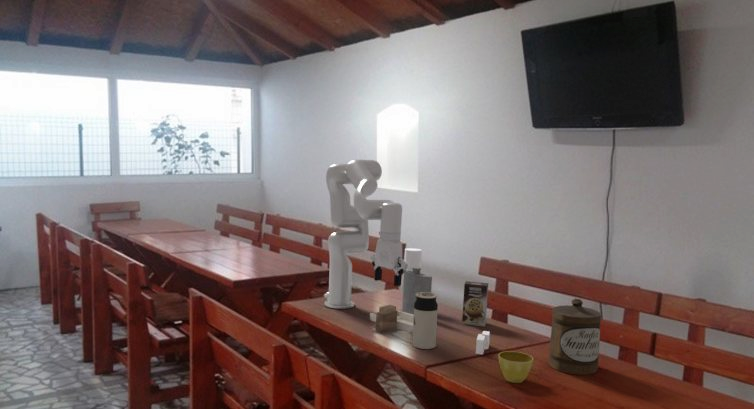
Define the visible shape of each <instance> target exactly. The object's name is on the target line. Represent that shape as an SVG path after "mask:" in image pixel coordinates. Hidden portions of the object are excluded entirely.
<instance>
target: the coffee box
mask: <svg viewBox="0 0 754 409" xmlns="http://www.w3.org/2000/svg"><path fill="white" fill-rule="evenodd" d="M463 287H464V288H463V301H462V302H463V304H462V315H461V316H462V318H461V324H463V325H468V326H477V327H486V323H487V310H488V309H487V306H488V305H487V304H488V293H489V291H488V290H489V283H488V282H479V281H470V280H469V281H467V280H466V281H465V282H464V285H463Z"/></svg>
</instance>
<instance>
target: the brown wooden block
mask: <svg viewBox="0 0 754 409" xmlns="http://www.w3.org/2000/svg"><path fill="white" fill-rule="evenodd" d="M396 310H397V309H396ZM396 310H392V309H390V310H385V311H381V312H379V311H378V312H376V313H375V314H376V322H375V330H376V332H379V333H385V332H388V331H392V330H396V328H397V311H396Z"/></svg>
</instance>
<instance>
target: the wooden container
mask: <svg viewBox="0 0 754 409" xmlns="http://www.w3.org/2000/svg"><path fill="white" fill-rule="evenodd" d="M583 302H584V301H583V300H581V298H573V299H572V300H571V305H567V304H566V305H557V306H555V307H553V308H552V314H551V316H552V321H551V329H550V330H551V332H550V342H549V353H548V354H549V355H548V356H549V358H548V364H549V366H550V368H553V369H554V370H556V371H558V372H562V373H565V374H570V375H578V376H580V375H582V376H583V375H585V376H586V375H592V374H595V373H597V371H598V366H599V355H600V354H599V353H600V339H601V338H600V337H601V320H602V314H601V312H600V311H598V310H596V309H594V308H591V307H590V308H589V307H586V306H583V304H584V303H583Z"/></svg>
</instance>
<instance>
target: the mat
mask: <svg viewBox="0 0 754 409" xmlns="http://www.w3.org/2000/svg"><path fill="white" fill-rule="evenodd" d="M400 331H402V330H401V329H397V328H396V330H392V331H388V332H385V333H379V332H376V329H373V330H371V333H375V334H378V335H380V336H385V335H389V334H393V333H397V332H400Z"/></svg>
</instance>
